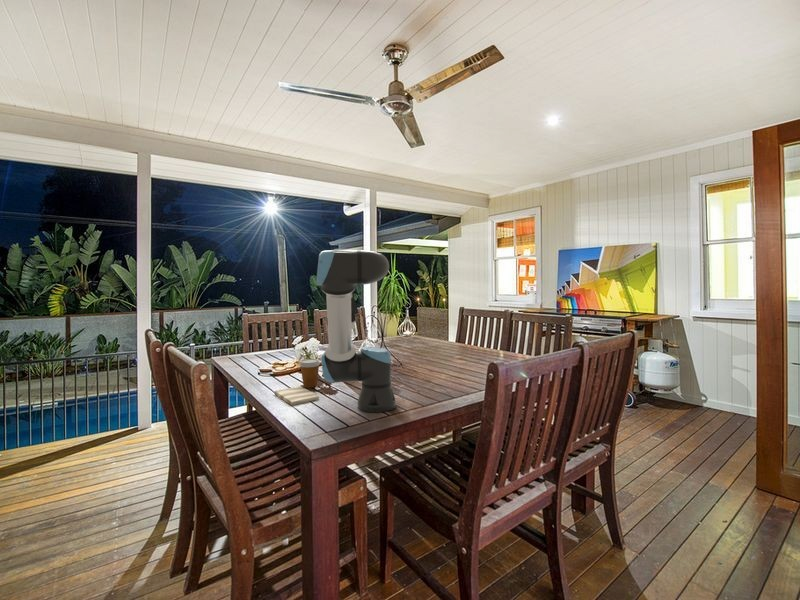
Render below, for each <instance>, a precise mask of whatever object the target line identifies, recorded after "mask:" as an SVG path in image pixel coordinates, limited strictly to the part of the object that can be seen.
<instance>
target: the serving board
mask: <svg viewBox="0 0 800 600" xmlns="http://www.w3.org/2000/svg"><path fill="white" fill-rule="evenodd" d="M274 395H275V396H276V395H277V397H278V398H280V400H283V401H284V402H285V403H287V404H289V405H290V406H295V405H300V404H305V403H309V401H310V402H313V400H314V401H318V400H317V399H319V400H320V395H318V394H317V393H314V392H312V391H310V390H309V389H307V388H306V387H304V386H302V385H299V386H295V387H288V388H284V389H278V390H274Z"/></svg>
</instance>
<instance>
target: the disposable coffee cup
mask: <svg viewBox="0 0 800 600" xmlns="http://www.w3.org/2000/svg"><path fill="white" fill-rule="evenodd" d="M320 364H321V362H320V360H319V359H318V358H306V359H302V360H301V361H299V364H298V365H299V366H300V370H301V378H302V385H303V386H302V387H303V388H307V387H309V388H315V387H317V386H318V381H319V380H318V379H319V372H320V371H319V369H320ZM316 385H317V386H316ZM314 386H315V387H314Z"/></svg>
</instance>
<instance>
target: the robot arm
mask: <svg viewBox="0 0 800 600" xmlns="http://www.w3.org/2000/svg"><path fill="white" fill-rule="evenodd" d="M317 263H318V264H317V270H316V271H317V272H316V285H317V286H321V287H320V288H321V291H322V292H323V293H324V294H325V295H326V315H327V316H326V317H327V338H328V339H327V340H328V346H327V347H326V348H325V351H324V352H322V354H321V362H320V363H321V370H322V374H323V379H324V380H325V381H326V382H327V383H347V382H361V389H360V391H359V392H360V393H359V395H358V399H357V408H358V409H359V410H360V411H362V412H367V413H384V412H388V411H392V410H393V409H395V408H396V406H397V405H396V397H395V394H394V392H393V388H392V367H391V366H392V360H391V359H392V357H391V352H390V351H389V350H388V349H386V348H383V347H378V346H362V347H361V348H360V350H359V351H358V350H356V347H355V345H353V343H352V342H353V340H352V339H353V338H352V337H353V335H352V330H355V328H356V325H355V324H356V315H358V314H359V309H358V307H357V304H356V300H355V296H354V291H355V290H356V286H359V285H370V284H374V283H376V282H379V281H380V280H382V279H384V278H385V277H386V276H387V274H388V273H389V270H390V262H389V260H388V258H387V256H385V255H384V254H383V253H380V252H376V251H371V250H366V249H364V250H362V249H361V250H359V249H357V250H356V249H352V250H351V249H348V248H334V249H331V250H322V251H321V252H320V253H319V255H318V262H317Z"/></svg>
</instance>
